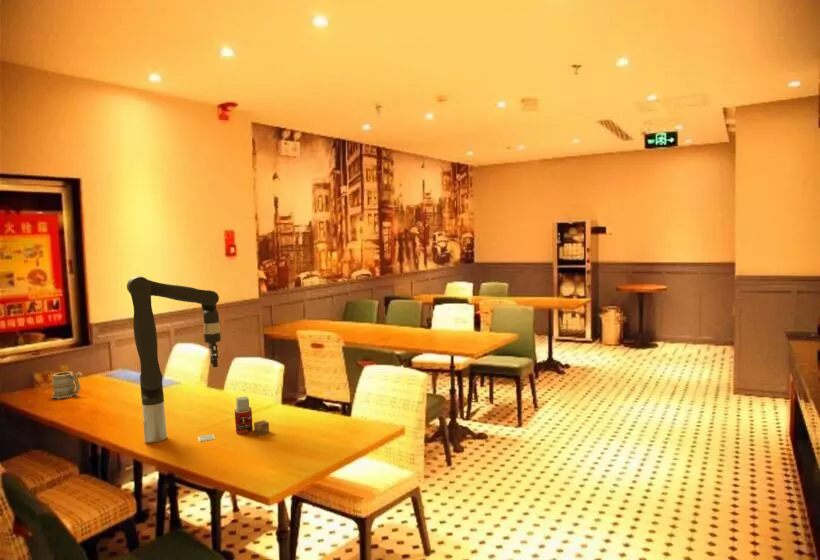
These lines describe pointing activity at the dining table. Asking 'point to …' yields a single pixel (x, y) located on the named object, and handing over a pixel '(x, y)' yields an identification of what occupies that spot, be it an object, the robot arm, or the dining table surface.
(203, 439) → the swatch
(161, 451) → the dining table surface
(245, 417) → the canned food
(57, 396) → the tankard
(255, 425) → the walnut block
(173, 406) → the dining table surface
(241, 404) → the light grey cube
